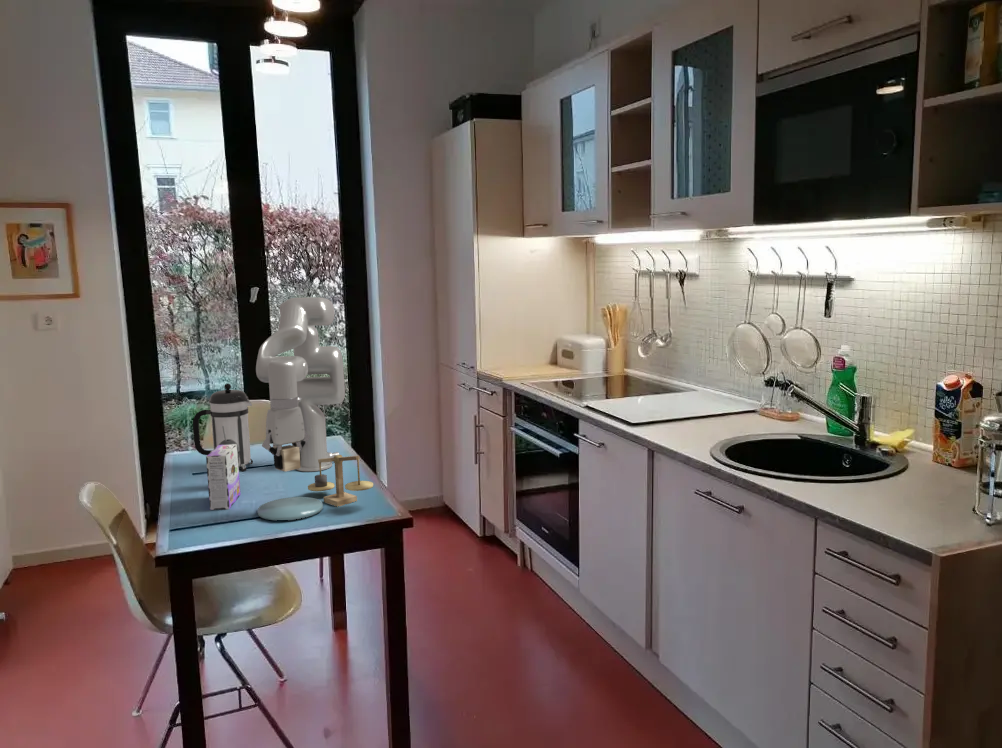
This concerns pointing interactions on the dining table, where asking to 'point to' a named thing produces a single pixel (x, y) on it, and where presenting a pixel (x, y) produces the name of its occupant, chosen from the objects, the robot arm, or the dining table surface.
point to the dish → (290, 508)
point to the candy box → (223, 477)
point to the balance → (339, 482)
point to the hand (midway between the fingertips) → (287, 466)
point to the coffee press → (227, 422)
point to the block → (290, 458)
